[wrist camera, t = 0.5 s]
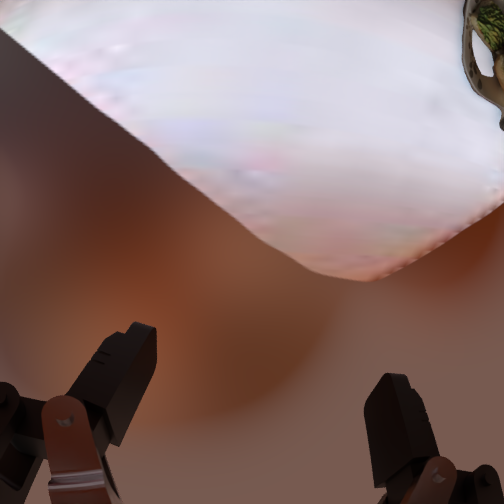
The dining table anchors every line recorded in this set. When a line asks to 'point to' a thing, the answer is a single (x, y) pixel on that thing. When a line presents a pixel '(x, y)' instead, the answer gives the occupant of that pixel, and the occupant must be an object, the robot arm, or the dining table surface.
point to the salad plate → (495, 38)
